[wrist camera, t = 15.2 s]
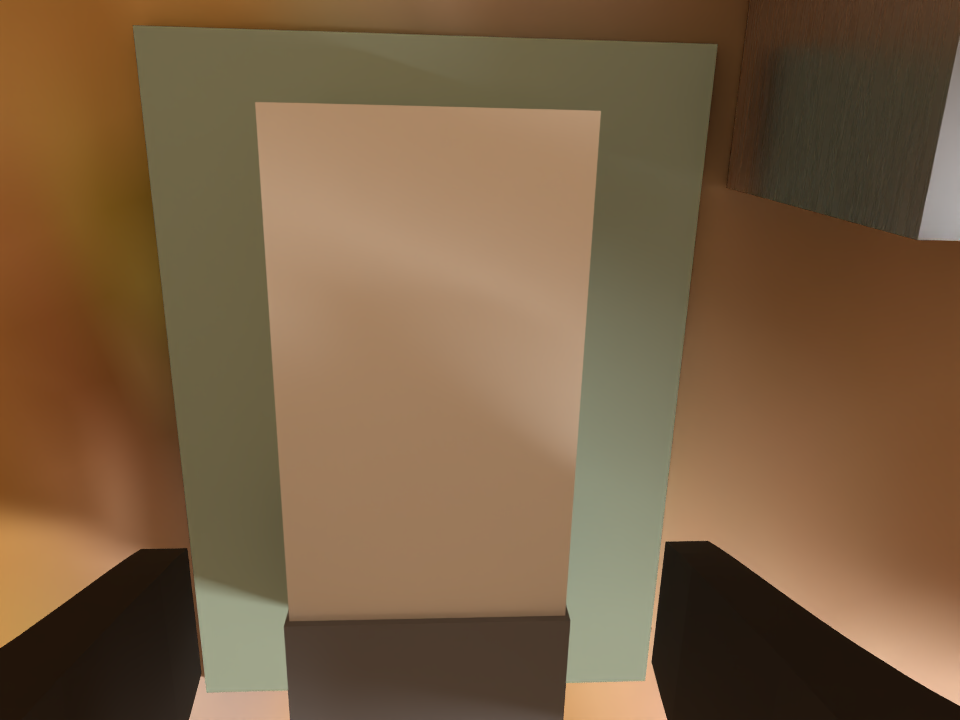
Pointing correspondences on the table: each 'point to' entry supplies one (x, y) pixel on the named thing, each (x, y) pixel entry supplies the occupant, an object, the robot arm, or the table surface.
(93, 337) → the table surface
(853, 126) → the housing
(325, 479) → the plug
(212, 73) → the mat
